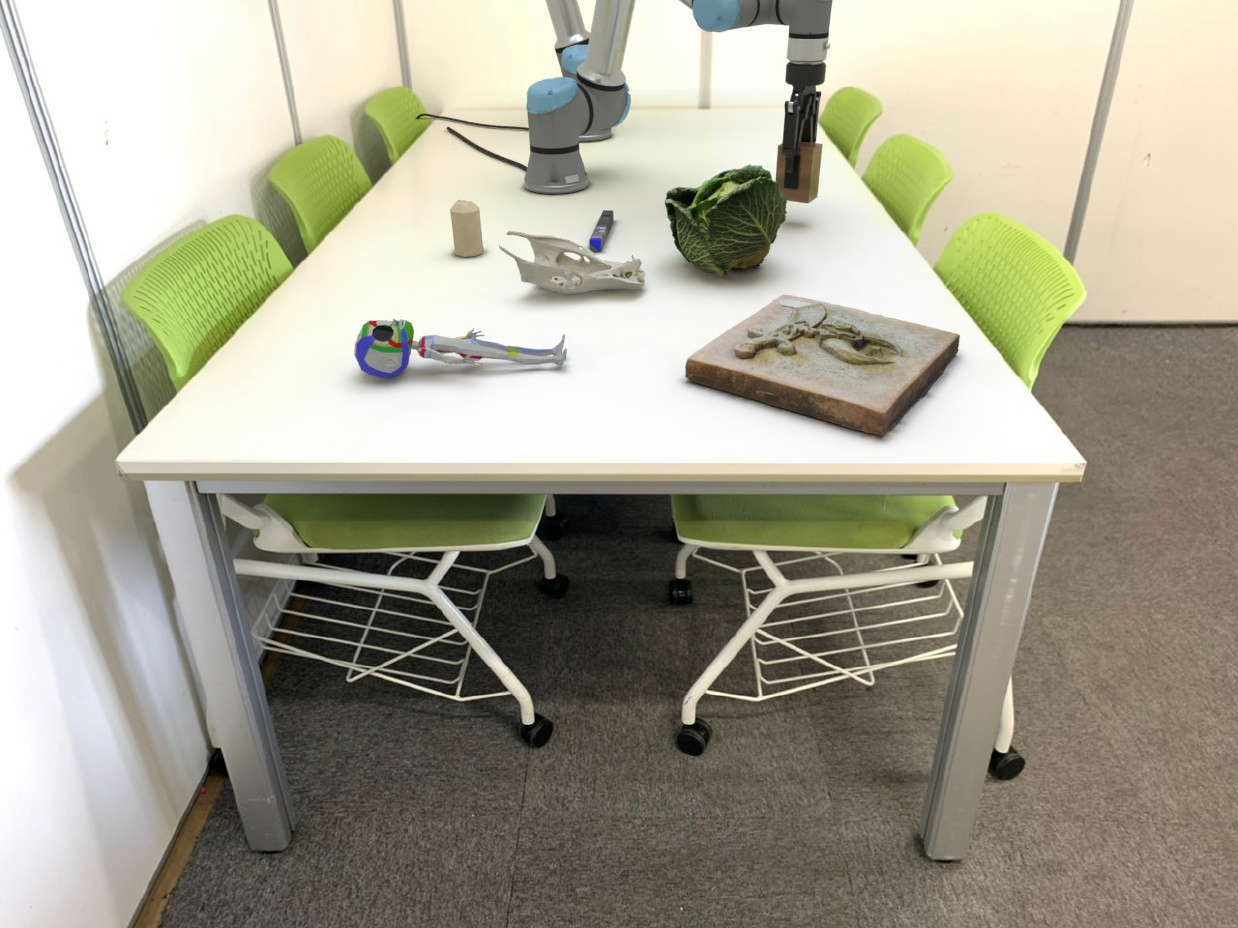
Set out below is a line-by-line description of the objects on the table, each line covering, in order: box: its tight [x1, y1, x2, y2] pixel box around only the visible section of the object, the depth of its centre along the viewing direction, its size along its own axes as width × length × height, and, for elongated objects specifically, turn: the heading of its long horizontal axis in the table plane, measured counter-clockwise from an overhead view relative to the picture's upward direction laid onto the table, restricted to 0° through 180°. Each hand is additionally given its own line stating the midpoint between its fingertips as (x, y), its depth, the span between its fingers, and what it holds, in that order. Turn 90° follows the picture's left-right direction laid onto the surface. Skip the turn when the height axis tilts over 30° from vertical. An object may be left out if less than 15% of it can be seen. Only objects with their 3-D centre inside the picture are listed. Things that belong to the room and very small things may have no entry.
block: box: [774, 142, 824, 204], centre depth 182 cm, size 5×7×11 cm
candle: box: [449, 199, 484, 258], centre depth 172 cm, size 6×6×10 cm
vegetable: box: [664, 164, 788, 278], centre depth 161 cm, size 20×19×20 cm
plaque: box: [684, 294, 961, 438], centre depth 129 cm, size 30×7×30 cm
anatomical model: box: [498, 230, 646, 295], centre depth 156 cm, size 15×9×25 cm
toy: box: [353, 318, 568, 379], centre depth 130 cm, size 10×8×30 cm
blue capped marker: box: [588, 209, 615, 252], centre depth 182 cm, size 2×2×20 cm
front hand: (796, 184), depth 183 cm, fingers closed on block, 5 cm apart
